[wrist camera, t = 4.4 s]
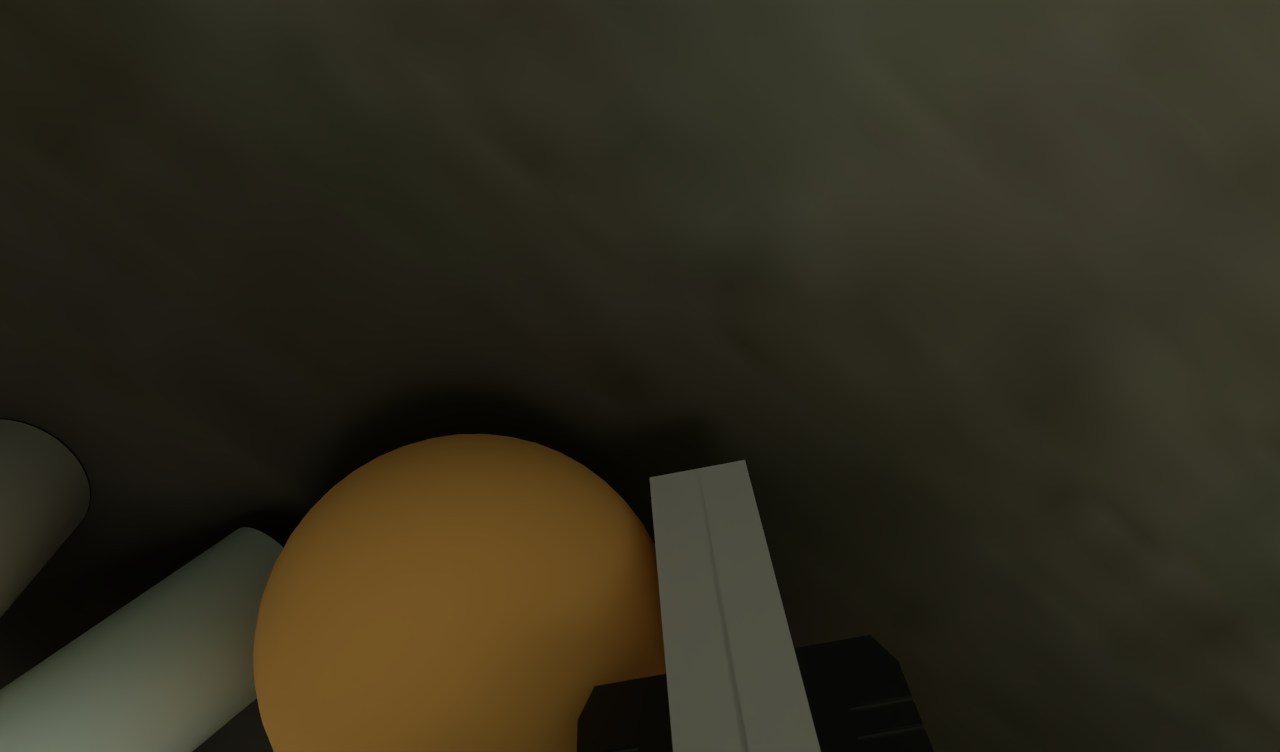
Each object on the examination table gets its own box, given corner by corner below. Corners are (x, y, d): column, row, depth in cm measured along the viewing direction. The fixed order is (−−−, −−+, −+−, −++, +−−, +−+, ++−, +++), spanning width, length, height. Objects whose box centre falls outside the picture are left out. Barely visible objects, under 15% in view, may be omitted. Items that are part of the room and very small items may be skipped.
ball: (710, 936, 13) (254, 997, 13) (649, 642, 19) (326, 676, 18) (716, 574, 11) (145, 629, 10) (644, 354, 16) (267, 381, 16)
